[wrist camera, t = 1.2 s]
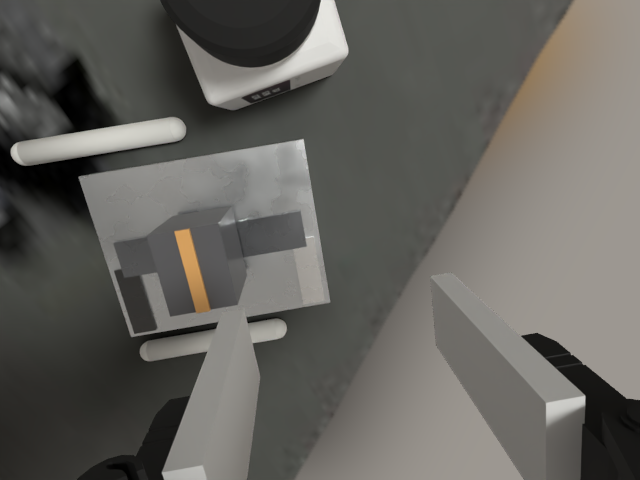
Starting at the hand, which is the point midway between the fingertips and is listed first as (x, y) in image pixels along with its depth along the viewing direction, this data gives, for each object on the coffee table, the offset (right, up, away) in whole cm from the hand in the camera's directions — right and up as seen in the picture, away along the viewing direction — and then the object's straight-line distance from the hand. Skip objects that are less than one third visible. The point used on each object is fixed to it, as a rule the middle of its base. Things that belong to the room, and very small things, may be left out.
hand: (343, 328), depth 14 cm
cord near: (-16, +10, +14) cm, 23 cm away
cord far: (-9, -5, +18) cm, 21 cm away
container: (-5, +17, +13) cm, 22 cm away
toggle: (-8, +3, +14) cm, 16 cm away
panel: (-8, +3, +16) cm, 19 cm away
